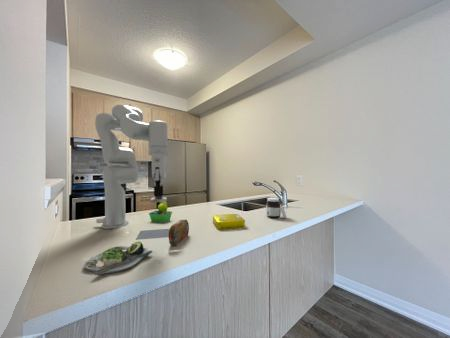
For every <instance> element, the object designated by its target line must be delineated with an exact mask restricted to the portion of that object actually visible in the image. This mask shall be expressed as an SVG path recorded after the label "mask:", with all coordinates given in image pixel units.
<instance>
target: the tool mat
mask: <svg viewBox="0 0 450 338" xmlns="http://www.w3.org/2000/svg"><path fill="white" fill-rule="evenodd" d="M169 230H170V228H160V229H147V230H140V231H139V233H138V235H137V236H136V237H135V240H137V241H138V240H139V241H140V240H147V239H148V240H150V239H161V238H163V239H164V238H169Z"/></svg>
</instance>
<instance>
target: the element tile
mask: <svg viewBox="0 0 450 338" xmlns="http://www.w3.org/2000/svg"><path fill="white" fill-rule="evenodd" d="M212 224H213V225H214V227H215V228H216V230H218V231H222V230H223V231H224V229H225V230H235V228H237V229H245V228H244V227H246V219H244V218H243V217H241V215H239V214H238V213H229V214H226V213H225V214H213V215H212Z"/></svg>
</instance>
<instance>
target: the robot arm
mask: <svg viewBox="0 0 450 338" xmlns="http://www.w3.org/2000/svg"><path fill="white" fill-rule="evenodd" d="M143 120H144V114H143V112H142V110H141V109H139V108H137V107H134V106H129V105H125V104H116V105H114V106H113V107H112V108H111V113H108V112H100V113H98V114H97V115H96V117H95V121H94V123H95V124H94V125H95V130H96V133H97V136H98V137H99V140H100V144H101V152H102V158H103V161H104V163H105V164H107V165H111V166H107V167H105V168H103V170H102V180H103V185H104V217H103V218H96V220H95V221H96V223H97V224H101V228H102V229H103V230H104V229H105V230H113V229H116V228H122V227H125V226H128V225H129V223H130V222H129V220H126V190H125V188H124V187H122V184H123V185H124V184H125V185H126V184H134V183H136V182H137V181H138V180H139V169H138V168H139V167H138V164H137V157H136V154H135V152H134V150H133V149H131V148H128V147H121V146H120V141H119V138H118V137H117V135H116V134H115V133H114V132H113V131H117V132H122V133H123V135H125V136H126V137H127V138H129V139H131V140H138V141H144V142H148V155H149V156H151V178H152V179H153V181H154V185H153V197H155V196H162V197H163V195H164V184H163V180H164V179H166V177H167V170H166V169H167V167H166V166H167V165H166V164H167V163H166V162H167V161H166V156H168V154H169V153H168V152H169V151H168V150H169V149H168V145H169V144H168V141H169V140H168V124H167V122H165V121H163V120H151V121H149V122H148V123H146V122H143ZM112 165H113V166H112Z"/></svg>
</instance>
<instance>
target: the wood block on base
mask: <svg viewBox="0 0 450 338" xmlns="http://www.w3.org/2000/svg"><path fill="white" fill-rule="evenodd" d="M149 201H150V202H149V203H161V202H166V203H167V196H166V197H165V196H163V195H162V196H154V197H151V198H150V200H149Z"/></svg>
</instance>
